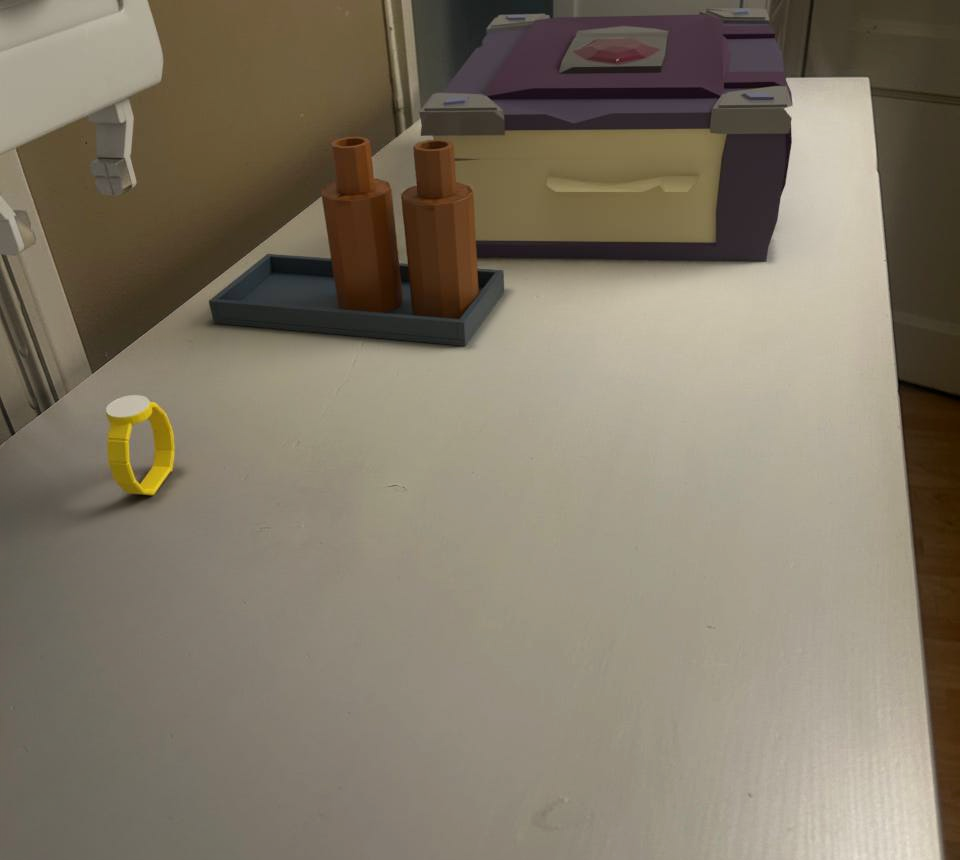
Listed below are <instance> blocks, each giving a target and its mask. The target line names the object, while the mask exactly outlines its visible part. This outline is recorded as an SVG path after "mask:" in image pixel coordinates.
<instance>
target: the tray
mask: <svg viewBox="0 0 960 860" xmlns="http://www.w3.org/2000/svg"><path fill="white" fill-rule="evenodd" d="M399 266H400V276H401V285H402V295H403V302H402V304H401V305H400V306H399V307H398V308H397V309H395V310H392V311H390V312H387V313H378V312H366V311H354V310H342V309H339V306H338V302H337V295H336V288H335V282H334V275H333V268H332V262H331V257H318V256H304V255H303V256H302V255H289V254H277V253H276V254H273V253H266V254H265V255H264V256H263V257H262V258H260V259H259V260H258V261H256V262H255V263H253V265H252V266H250V267H249V268H248V269H247V270H245V271H243V273H242V274H240V275H239V276H238V277H237V278H235V280H233V281H231V282H230V283H229V284H228V285H227V286H225V287H224V288H223V289H221V290H220V291H219V292H218V293H216V294H215V295H214V296H213V297H211V299H209V300H208V304H209V308H210V314H211V317H212V321H213V324H220V325H229V326H231V325H232V326H239V327H240V326H241V327H250V328H251V327H252V328H263V329H274V330H284V331H285V330H286V331H296V332H307V333H319V334H329V335H339V336H340V335H341V336H350V337H360V338H361V337H362V338H372V339H383V340H385V339H386V340H395V341H405V342H417V343H418V342H419V343H427V344H437V345H450V346H461V347H466V346H467V345H468V343H469V341H471V339H472V338H473V336H474V335H475V334H476V332H477V331H478V329H479V328H480V327H481V326H482V325H483V323H484V321H485V320H486V319H487V317H488V316H489V314H490V313H491V312H492V310H493V309H494V307H495V306H496V304H497V303H498V302H499V300H500V299H501V298H502V296H503V295H504V293H505V270H503V269H494V268H493V269H492V268H478V267H477V273H478V292H479V294H478V296H477V297H476V298H475V300H474V301H473V302H472V304H471V305H470V306H469V307H468V309H467V310H466V311H465V313H464V314H463V315H462V317H461V318H460V319H450V318H438V317H426V316H415V315H414V313H413V310H412V302H411V292H410V282H409V272H408V262H407V263H406V262H405V263H404V262H399Z"/></svg>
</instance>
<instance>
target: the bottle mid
mask: <svg viewBox="0 0 960 860" xmlns="http://www.w3.org/2000/svg"><path fill="white" fill-rule="evenodd" d="M329 145H330V151H331V159H332V166H333V173H334V180H335V182H331V183H329V184H327V185H326V186H325V187H323V188H321V190H320V195H321V201H322V208H323V213H324V220H325V222H324V223H325V227H326V234H327V240H328V248H329V254H330V258H331V262H332V268H333V275H334V282H335V288H336V295H337V302H338V306H339V309H342V310H354V311H366V312H378V313H387V312H390V311H392V310H395V309H397V308H398V307H399V306H400V305H401V304H402V302H403V295H402V285H401V276H400V266H399V263H400V258H399V250H398V238H397V228H396V219H395V209H394V200H393V192H392V191H393V190H392V186H391V184H390V182H389V181H386V180H382V179H379V178H375V175H374V167H373V166H374V165H373V158H372V157H373V155H372V148H371V141H370V139H369V138H367V137H362V136H346V137H342V138H337V139H335V140H333V141H332V142H330V144H329Z"/></svg>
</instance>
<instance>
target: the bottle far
mask: <svg viewBox="0 0 960 860" xmlns="http://www.w3.org/2000/svg"><path fill="white" fill-rule="evenodd" d="M412 150H413V160H414V173H415V183H416V185H414V186H410V187H407V188H406V189H405V190H404V191H403V192H402V193H401V194H400V200H401V211H402V219H403V230H404V240H405V250H406V260H407V261H406V262H407V264H408V272H409V282H410V292H411V302H412V310H413V313H414V315H415V316H426V317H438V318H450V319H460V318H461V317H462V315H463V314H464V313H465V311H466V310H467V309H468V307H469V306H470V305H471V304H472V302H473V301H474V300H475V298H476V297H477V296H478V294H479V292H478V273H477V268H478V258H477V254H476V234H475V215H474V196H473V191H472V189H471V188H470V186H468V185H464V184H461V183H457V182H456V174H455V158H454V144H453V143H452V142H451V141H447V140H440V139H439V140H434V139H427V140H423V141H418V142H417V143H415V144H414V145H413V147H412Z"/></svg>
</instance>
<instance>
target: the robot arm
mask: <svg viewBox="0 0 960 860" xmlns="http://www.w3.org/2000/svg"><path fill="white" fill-rule="evenodd" d="M149 3H150V2H149V1H148V0H0V156H2V155H4V154H7V153H8V152H11V151H13V150H15V149H17V148H19V147H22V146H23V145H26V144H28V143H31V142H33V141H35V140H37V139H39V138H42V137H45V136H46V135H48V134H50V133H52V132H55V131H58V130H59V129H61V128H63V127H66V126H69V125H70V124H73V123H75V122H77V121H80V120H81V119H84V118H86V119H87V122H89V124H90V123H91V124H92V123H94V124H95V125H94V126H95V148H96V149H95V150H96V158H94V159H92V160H91V161H89V162H88V163H89V166H90V171H91V174H92V175H93V177H94V179H95V180H94V183H95V187H96V189H97V191H98V192H99V193H100V194H102V195H104V196H115V197H116V196H118V197H119V196H122V195H124V194H126V193H127V192H129V191H131V190H132V189H135V187H136V186H137V182H138V181H137V178H136V174H135V171H134V166H133V162H132V158H131V155H132V147H133V146H132V145H133V136H134V135H133V134H134V124H135V123H134V122H135V116H134V113H133V110H132V109H133V108H132V105H131V101H130V97H132V96H134V95H137V94H139V93H141V92H143V91H145V90H148V89H150V88H152V87H154V86H157V85H159V84H160V83H161V82H162V77H163V70H164V69H163V68H164V53H163V48H162V45H161V41H160V37H159V34H158V30H157V27H156V23H155V20H154V16H153V13H152V10H151V7H150V4H149ZM31 226H32V224H31V219H30V217H29V215H28V212H27V210H24V209H23V210H22V209H21V210H20V209H12V208H11V206H10V205H9V204H8V203H7V202H6V200H5V199H4V198H3V197H2V195H1V194H0V256H13V257H14V256H17V255H19V254H21V253H22V252H25V251H26V250H28V249H29V248H31V247H32V246H34V245H35V244H36V240H37V238H36V235H35V233H34V231H33V230H32V227H31Z"/></svg>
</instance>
